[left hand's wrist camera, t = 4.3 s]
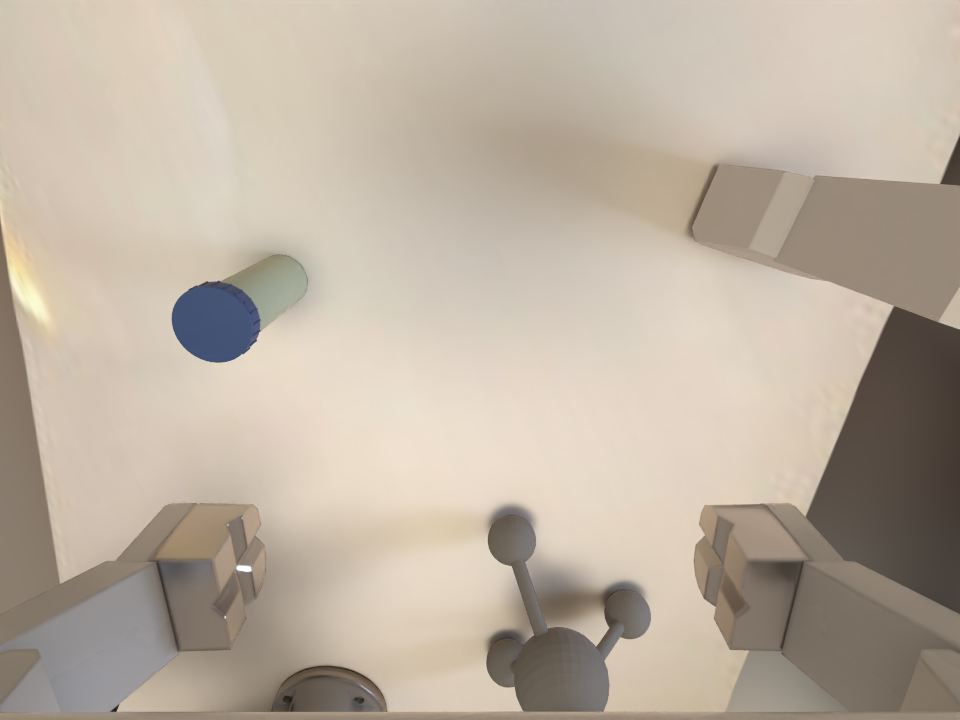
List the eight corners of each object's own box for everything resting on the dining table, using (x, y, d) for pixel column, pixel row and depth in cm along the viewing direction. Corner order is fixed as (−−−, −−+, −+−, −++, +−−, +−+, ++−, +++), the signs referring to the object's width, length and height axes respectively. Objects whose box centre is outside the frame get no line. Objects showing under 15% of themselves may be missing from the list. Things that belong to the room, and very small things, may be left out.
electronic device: (832, 201, 54) (1209, 254, 26) (795, 274, 57) (1103, 394, 29) (715, 160, 53) (979, 170, 25) (682, 237, 56) (888, 325, 28)
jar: (316, 294, 58) (260, 342, 43) (272, 310, 58) (202, 364, 44) (293, 247, 56) (227, 281, 41) (248, 265, 57) (167, 304, 42)
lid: (275, 340, 45) (267, 348, 43) (207, 365, 45) (196, 374, 44) (238, 269, 43) (227, 274, 41) (167, 296, 43) (154, 302, 42)
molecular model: (414, 622, 73) (373, 919, 45) (502, 496, 66) (519, 751, 38) (567, 689, 77) (618, 1000, 49) (664, 577, 70) (788, 861, 42)
